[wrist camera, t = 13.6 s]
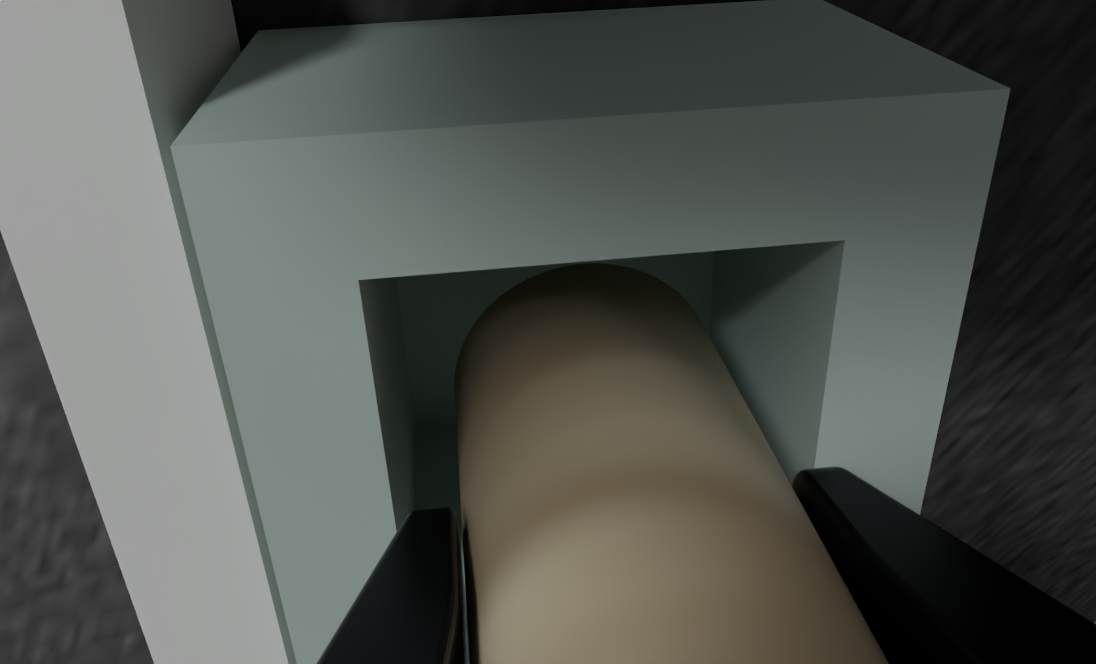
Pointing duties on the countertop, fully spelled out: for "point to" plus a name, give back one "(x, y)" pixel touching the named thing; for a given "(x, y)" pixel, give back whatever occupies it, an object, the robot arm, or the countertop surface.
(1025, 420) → the countertop surface
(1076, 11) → the countertop surface
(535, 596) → the dowel
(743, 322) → the collar block
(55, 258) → the stop bar
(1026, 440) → the countertop surface
